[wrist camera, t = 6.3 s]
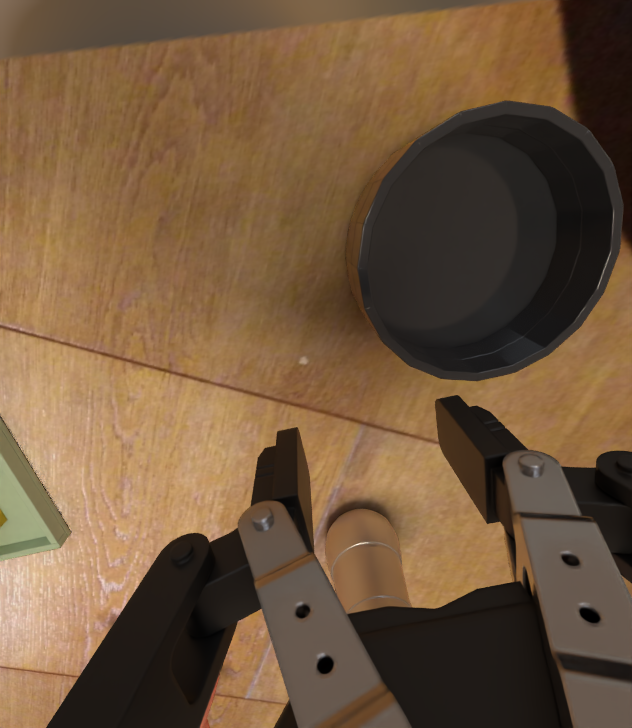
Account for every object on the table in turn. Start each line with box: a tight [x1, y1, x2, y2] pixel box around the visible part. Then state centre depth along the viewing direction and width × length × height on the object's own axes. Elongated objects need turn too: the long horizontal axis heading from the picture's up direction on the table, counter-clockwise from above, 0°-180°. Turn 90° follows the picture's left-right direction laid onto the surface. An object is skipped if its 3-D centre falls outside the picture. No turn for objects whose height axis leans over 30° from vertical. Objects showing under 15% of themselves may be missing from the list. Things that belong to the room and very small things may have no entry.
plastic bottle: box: [325, 509, 412, 614], centre depth 26 cm, size 6×7×20 cm
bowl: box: [346, 101, 623, 381], centre depth 24 cm, size 15×15×6 cm
